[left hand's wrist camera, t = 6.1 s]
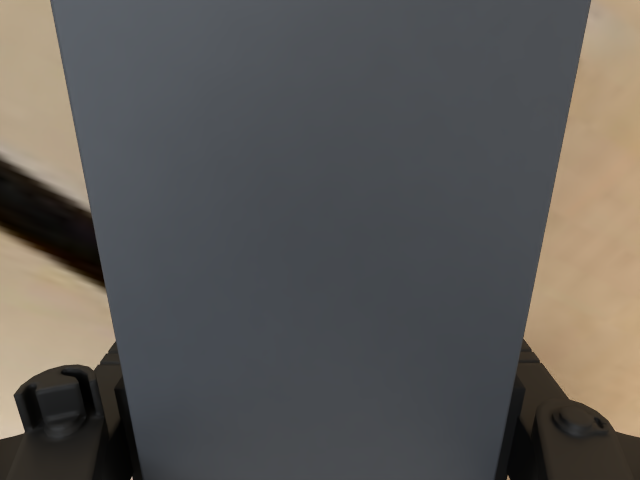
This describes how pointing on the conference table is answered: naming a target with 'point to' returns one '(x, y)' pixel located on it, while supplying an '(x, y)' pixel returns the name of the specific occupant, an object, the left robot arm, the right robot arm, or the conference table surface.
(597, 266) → the conference table surface
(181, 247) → the bar
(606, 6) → the conference table surface
